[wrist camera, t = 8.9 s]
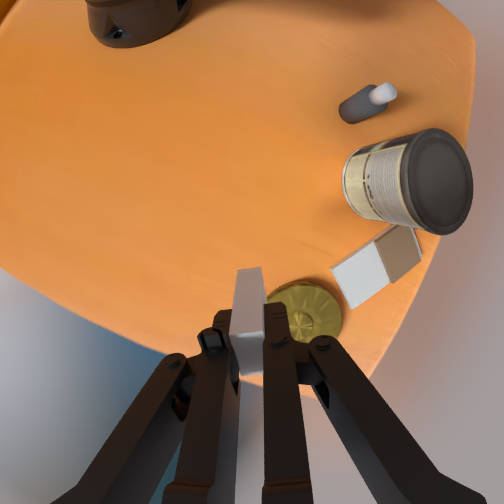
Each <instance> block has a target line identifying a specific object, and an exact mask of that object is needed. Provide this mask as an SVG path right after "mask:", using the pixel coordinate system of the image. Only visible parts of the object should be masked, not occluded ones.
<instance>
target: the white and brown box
mask: <svg viewBox="0 0 504 504" xmlns="http://www.w3.org/2000/svg"><path fill="white" fill-rule="evenodd" d="M421 257H422V254H421V251H420V248H419V245H418V242H417V239H416V236H415V233H414V230H413V228H411V227H407V226H402V225H398V224H392V225H390V226H389V227H388V228H386V229H385V230H383V231H382V232H381V233H379V234H378V235H376V236H375V237H374V238H372V239H371V240H369V241H368V242H367V243H365V244H364V245H362V246H361V247H359V248H358V249H357V250H355V251H354V252H352V253H351V254H349V255H348V256H346V257H345V258H344V259H342V260H341V261H339V262H338V263H336V264H335V265H333V266H332V267H330V270H331V272H332V274H333V276H334V278H335V280H336V281H337V283H338V285H339V287H340V289H341V291H342V293H343V295H344V297H345V299H346V301H347V303H348V305H349V307H350V308H351V309H352V310H353V309H354V308H356V307H357V306H359V305H360V304H361V303H363V302H364V301H366V300H367V299H368V298H370V297H371V296H372V295H374V294H375V293H376V292H378V291H379V290H380V289H382V288H383V287H384V286H386V285H387V284H388V283H390V282H391V283H395V282H396V281H397V280H398V279H400V278H401V277H402V276H403V275H405V274H406V273H407V272H408V271H410V270H411V269H412V268H413V267H414V266H416V265H417V264H418V263H419V262H420V261H421V259H420V258H421Z"/></svg>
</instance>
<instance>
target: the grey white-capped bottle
mask: <svg viewBox="0 0 504 504" xmlns="http://www.w3.org/2000/svg"><path fill="white" fill-rule="evenodd" d="M396 97H397V90H396V88H395V87H394V86H393V85H392V84H391V83H389V82H385V83H383V84H381V85H380V86H375V85H368V86H366V87H365V88H363V89H362V90H360V91H359V92H357V93H356V94H354V95H353V96H351V97H350V98H348V99H347V100H345V101H344V102H342V103H341V104H340V106H339V114H340V116H341V118H342V119H343V120H344V121H345V122H346V123H349V124H356V123H358V122H360V121H362V120H364V119H367V118H369V117H371V116H373V115H375V114H378V113H380V112H382V111H384V110H385V109H386V108H387V106H388V102H389V101H391V100H393V99H395V98H396Z"/></svg>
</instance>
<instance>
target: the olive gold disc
mask: <svg viewBox="0 0 504 504" xmlns="http://www.w3.org/2000/svg"><path fill="white" fill-rule="evenodd" d="M266 298H267V303H274V302H280V301H282V302H283V303H284V304H285V305H286V309H287V315H288V321H289V327H290V333H291V336H292V337H293V339H295V340H296V341H299V342H304V343H309V342H310V341H311V340H312V339H313V338H314V337H316V336H320V335H330V336H333V337H334V338H336V339H337V337H338V335H339V332H340V329H341V323H342V316H341V310H340V307H339V305H338V303H337V301H336V300H335V299H334V297H333V296H332V295H331V294H330V293H328V292H327V291H326V290H325V289H323V288H322V287H320V286H318V285H315V284H312V283H310V282H305V281H297V282H290V283H287V284H284V285H282V287H280V288H278V289H277V290H275V291H274V292H272V293H271V294H270V295H268V296H267V297H266Z"/></svg>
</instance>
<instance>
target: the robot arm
mask: <svg viewBox="0 0 504 504" xmlns="http://www.w3.org/2000/svg"><path fill="white" fill-rule="evenodd" d="M85 1H86V3H87V9H88V20H89V27H90V30H91V32H92V33H93V35H94V36H95V37H96V38H97V40H98V41H99V42H100V43H102V44H103V45H106V46H108V47H112V48H131V47H136V46H140V45H144V44H147V43H150V42H152V41H154V40H157V39H159V38H161V37H163V36H164V35H166V34H168V33H169V32H171V31H172V30H173V29H175V28H176V27H177V26H178V25H179V24H180V23H181V22H182V21H183V20H184V19H185V17H186V16H187V14H188V13H189V11H190V8H191V5H192V0H85ZM197 338H198V341H199V344H200V347H201V349H202V352H201V353H200V354H199V355H196V356H193V357H190V358H186V356H184V355H183V354H181V353H173V354H169V355H167V356H166V357H164V358H163V360H162V361H161V362H160V363H159V365H158V366H157V368H156V369H155V371H154V372H153V374H152V375H151V376H150V378H149V379H148V381H147V382H146V384H145V385H144V386H143V388H142V389H141V391H140V392H139V394H138V395H137V397H136V398H135V399H134V401H133V403H132V404H131V405H130V407H129V408H128V410H127V411H126V413H125V414H124V415H123V417H122V419H121V420H120V421H119V423H118V424H117V426H116V427H115V429H114V430H113V432H112V433H111V435H110V436H109V438H108V439H107V440H106V442H105V443H104V445H103V446H102V448H101V449H100V451H99V452H98V454H97V455H96V457H95V458H94V460H93V461H92V463H91V464H90V466H89V467H88V469H87V470H86V472H85V474H84V475H83V476H82V478H81V479H80V481H79V482H78V484H77V485H76V486H75V487H73V488H72V489H70V490H69V491H68V492H66V493H65V494H63V495H62V496H61V497H60V498H58V499H56V500H55V501H54V502H52V503H51V504H148V503H149V501H150V499H151V497H152V496H153V494H154V492H155V490H156V488H157V486H158V484H159V482H160V480H161V478H162V477H163V475H164V473H165V470H166V469H167V467H168V465H169V463H170V461H171V459H172V457H173V455H174V453H175V451H176V449H177V447H178V445H179V443H180V441H181V440H182V443H181V448H180V454H179V458H178V463H177V468H176V474H175V478H174V481H173V482H171V483H169V484H167V486H166V487H165V489H164V492H163V497H162V503H161V504H235V501H234V500H235V481H236V463H237V444H238V425H239V407H240V406H239V405H240V388H241V383H240V379H239V371H240V374H241V376H248V375H257V374H263V392H264V465H265V466H264V467H265V468H264V469H265V470H264V471H265V472H264V473H265V474H264V476H265V480H264V486H263V488H262V504H314V503H313V493H312V485H311V479H310V470H309V462H308V453H307V446H306V437H305V429H304V421H303V414H302V407H301V399H300V392H299V385H298V384H304V385H311V387H312V389H313V391H314V392H315V394H316V396H317V398H318V400H319V401H320V403H321V405H322V407H323V409H324V410H325V412H326V414H327V416H328V418H329V419H330V421H331V423H332V425H333V426H334V428H335V430H336V432H337V434H338V435H339V437H340V439H341V441H342V443H343V444H344V446H345V448H346V450H347V451H348V453H349V455H350V457H351V458H352V460H353V462H354V464H355V465H356V467H357V469H358V470H359V472H360V474H361V476H362V478H363V479H364V481H365V483H366V485H367V486H368V488H369V490H370V491H371V493H372V495H373V497H374V498H375V500H376V502H377V504H487V502H486V499H485V497H483V496H482V495H481V494H480V493H477V492H476V491H473V490H471V489H470V488H468V487H466V486H464V485H462V484H460V483H458V482H456V481H454V480H452V479H450V478H449V477H447V476H445V475H443V474H441V473H440V472H439V471H438V470H437V469H436V467H435V466H434V464H433V463H432V462H431V460H430V459H429V458H428V457H427V455H426V454H425V453H424V451H423V450H422V449H421V447H420V446H419V445H418V443H417V442H416V441H415V439H414V438H413V437H412V435H411V434H410V433H409V431H408V430H407V429H406V428H405V426H404V425H403V424H402V422H401V421H400V420H399V418H398V417H397V416H396V415H395V413H394V412H393V411H392V409H391V408H390V407H389V405H388V404H387V403H386V402H385V400H384V399H383V398H382V397H381V395H380V394H379V393H378V391H377V390H376V389H375V387H374V386H373V385H372V384H371V382H370V381H369V380H368V378H367V377H366V376H365V375H364V373H363V372H362V371H361V369H360V368H359V367H358V366H357V364H356V363H355V362H354V361H353V359H352V358H351V357H350V355H349V354H348V353H347V352H346V350H345V349H344V348H343V347H342V345H341V344H340V343H339V342H338V340H337V339H336V338H334V337H333V336H330V335H320V336H316V337H314V338H313V339H312V340H311V341H310V342H309V343H304V342H299V341H296V340H295V339H293V337H292V336H291V333H290V327H289V321H288V315H287V309H286V305H285V304H284V303H283V302H282V301H280V302H274V303H267V298H266V293H265V287H264V281H263V276H262V270H261V267H256V268H249V269H243V270H238V271H237V279H236V286H235V293H234V300H233V308H232V309H228V310H220V311H218V313H217V314H216V315H215V316H214V320H213V325H212V327H210V328H206V329H204V330H202V331H201V332H200V333H199V334H198V336H197Z"/></svg>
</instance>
